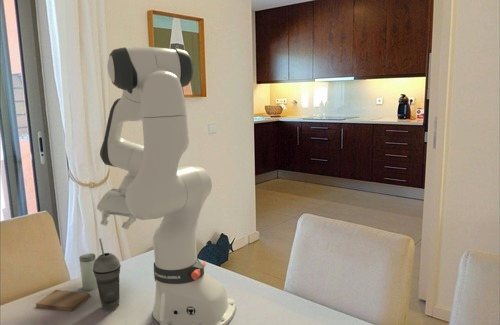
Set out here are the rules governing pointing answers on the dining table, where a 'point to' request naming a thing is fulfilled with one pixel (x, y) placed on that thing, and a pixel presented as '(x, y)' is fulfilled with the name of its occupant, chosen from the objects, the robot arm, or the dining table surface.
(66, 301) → the walnut board
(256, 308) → the dining table surface
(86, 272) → the sage tube
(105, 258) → the beverage cup
